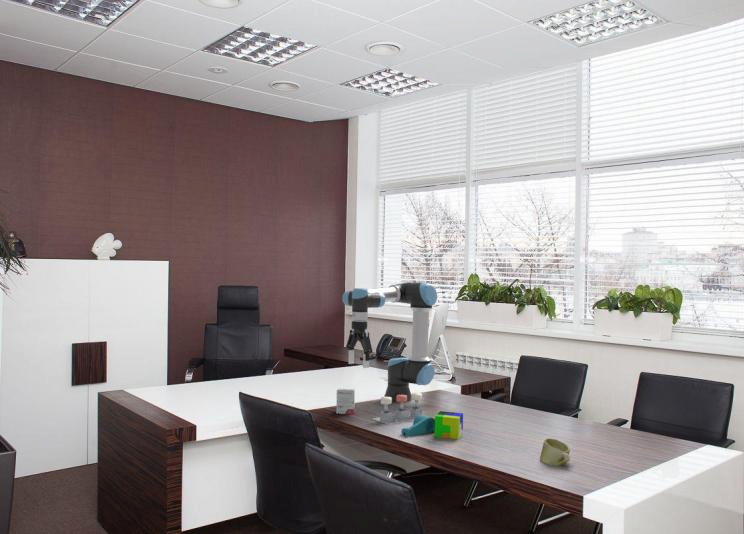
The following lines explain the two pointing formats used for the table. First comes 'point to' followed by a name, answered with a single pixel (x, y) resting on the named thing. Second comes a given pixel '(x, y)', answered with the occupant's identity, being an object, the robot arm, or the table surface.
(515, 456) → the table surface
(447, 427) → the puzzle toy
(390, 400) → the knob outer
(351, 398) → the ink box
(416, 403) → the knob inner
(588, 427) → the table surface
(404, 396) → the knob mid
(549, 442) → the mug
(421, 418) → the tape dispenser
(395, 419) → the console
